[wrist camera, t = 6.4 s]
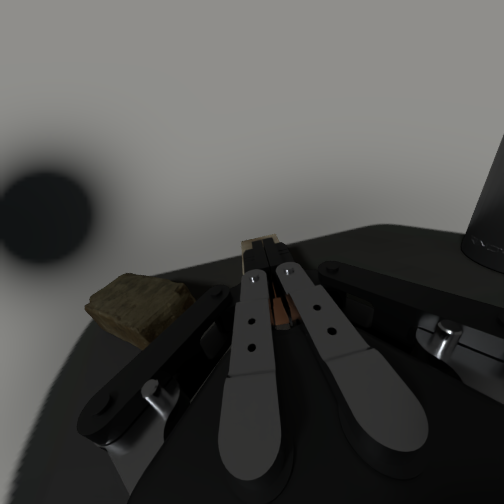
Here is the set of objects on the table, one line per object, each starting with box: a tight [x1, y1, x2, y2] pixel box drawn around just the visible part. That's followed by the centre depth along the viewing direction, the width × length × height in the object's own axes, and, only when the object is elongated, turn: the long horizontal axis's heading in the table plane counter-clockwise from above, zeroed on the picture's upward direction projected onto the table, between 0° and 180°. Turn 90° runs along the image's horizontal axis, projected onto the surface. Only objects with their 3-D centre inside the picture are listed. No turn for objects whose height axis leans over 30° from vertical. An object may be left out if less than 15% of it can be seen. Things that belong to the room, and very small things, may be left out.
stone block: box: [85, 273, 196, 351], centre depth 20 cm, size 6×12×5 cm, turn 65°
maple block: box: [241, 234, 289, 325], centre depth 20 cm, size 4×4×10 cm
